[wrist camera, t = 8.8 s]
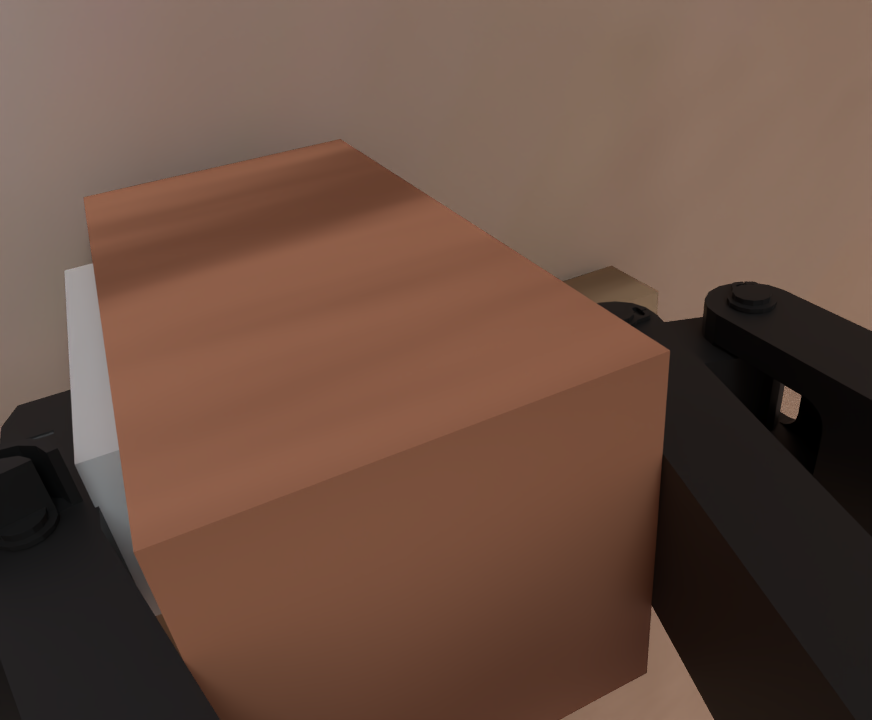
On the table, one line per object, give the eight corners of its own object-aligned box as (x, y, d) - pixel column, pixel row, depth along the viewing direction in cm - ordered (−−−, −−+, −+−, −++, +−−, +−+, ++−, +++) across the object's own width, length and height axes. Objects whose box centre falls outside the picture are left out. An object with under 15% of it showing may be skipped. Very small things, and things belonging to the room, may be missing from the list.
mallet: (83, 197, 13) (134, 552, 5) (340, 138, 15) (670, 350, 7) (269, 691, 21) (399, 1129, 13) (424, 620, 23) (624, 975, 15)
